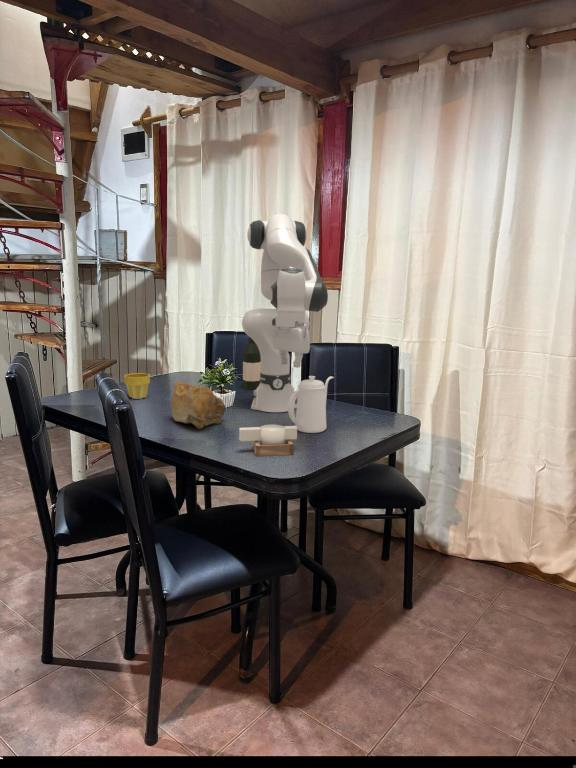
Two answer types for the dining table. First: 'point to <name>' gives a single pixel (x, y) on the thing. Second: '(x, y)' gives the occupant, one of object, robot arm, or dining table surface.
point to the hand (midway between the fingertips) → (290, 365)
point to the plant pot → (137, 384)
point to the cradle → (273, 449)
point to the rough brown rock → (196, 405)
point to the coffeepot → (309, 405)
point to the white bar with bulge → (268, 434)
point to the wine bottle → (251, 366)
